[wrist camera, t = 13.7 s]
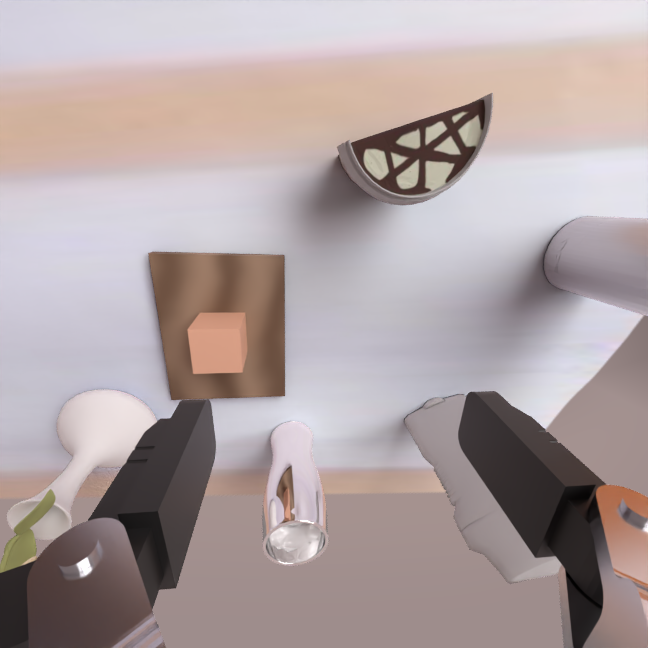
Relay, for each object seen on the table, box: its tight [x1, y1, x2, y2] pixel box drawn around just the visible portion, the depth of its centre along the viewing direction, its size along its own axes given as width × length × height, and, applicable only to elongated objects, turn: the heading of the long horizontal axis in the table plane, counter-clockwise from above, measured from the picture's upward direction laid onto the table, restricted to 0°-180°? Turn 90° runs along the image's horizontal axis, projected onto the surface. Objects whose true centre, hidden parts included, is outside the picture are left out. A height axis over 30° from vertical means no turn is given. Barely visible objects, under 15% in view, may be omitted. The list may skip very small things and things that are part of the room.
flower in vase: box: [0, 389, 157, 573], centre depth 28 cm, size 13×11×25 cm
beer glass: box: [262, 421, 329, 566], centre depth 38 cm, size 7×7×15 cm
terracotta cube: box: [187, 312, 248, 374], centre depth 34 cm, size 5×5×5 cm
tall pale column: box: [404, 394, 561, 584], centre depth 36 cm, size 11×4×22 cm, turn 112°
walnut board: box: [148, 252, 285, 400], centre depth 37 cm, size 14×18×1 cm
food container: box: [337, 93, 493, 205], centre depth 29 cm, size 12×6×10 cm, turn 107°
